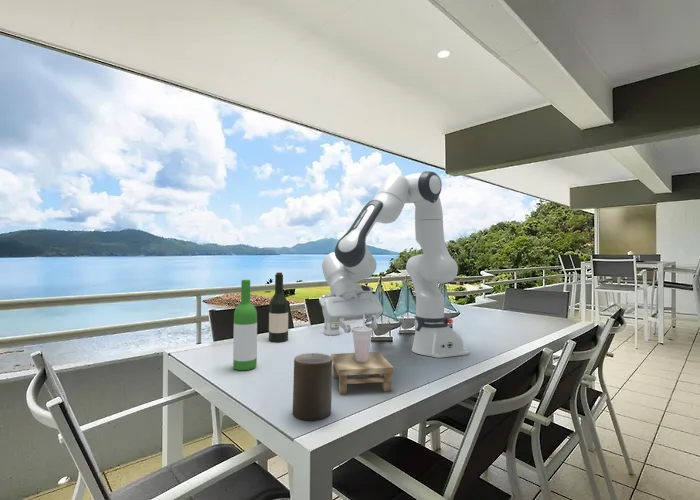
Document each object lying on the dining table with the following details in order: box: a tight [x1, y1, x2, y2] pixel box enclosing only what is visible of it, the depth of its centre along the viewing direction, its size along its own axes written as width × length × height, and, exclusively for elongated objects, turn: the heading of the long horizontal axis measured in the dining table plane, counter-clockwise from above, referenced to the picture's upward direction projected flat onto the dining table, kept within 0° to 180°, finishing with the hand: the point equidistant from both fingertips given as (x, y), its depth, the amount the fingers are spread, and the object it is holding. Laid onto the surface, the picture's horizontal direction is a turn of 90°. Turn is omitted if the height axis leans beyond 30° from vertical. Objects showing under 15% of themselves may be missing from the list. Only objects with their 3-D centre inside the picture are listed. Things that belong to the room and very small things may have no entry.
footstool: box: [330, 351, 394, 395], centre depth 114 cm, size 16×16×7 cm
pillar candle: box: [292, 352, 333, 422], centre depth 94 cm, size 10×10×15 cm
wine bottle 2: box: [268, 272, 289, 344], centre depth 164 cm, size 8×8×30 cm
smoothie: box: [351, 315, 373, 362], centre depth 114 cm, size 6×6×14 cm
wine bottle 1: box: [232, 279, 258, 371], centre depth 127 cm, size 8×8×30 cm
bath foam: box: [324, 291, 340, 336], centre depth 178 cm, size 7×7×20 cm
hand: (361, 330), depth 113 cm, fingers open, 8 cm apart
